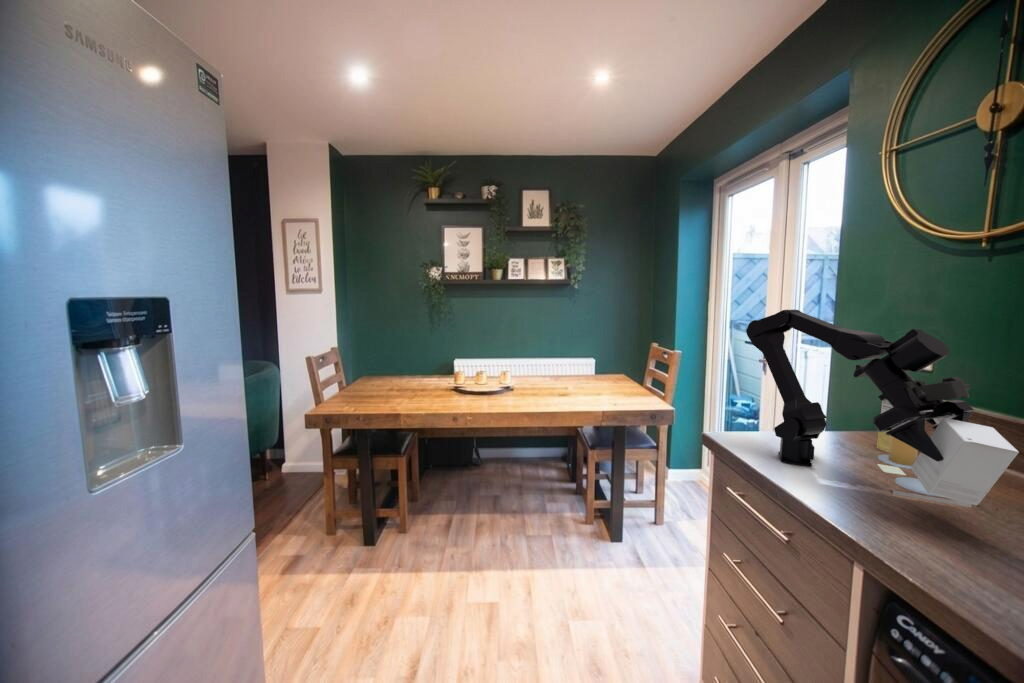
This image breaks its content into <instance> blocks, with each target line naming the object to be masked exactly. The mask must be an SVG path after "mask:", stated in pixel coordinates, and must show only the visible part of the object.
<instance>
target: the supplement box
mask: <svg viewBox="0 0 1024 683" xmlns="http://www.w3.org/2000/svg"><path fill="white" fill-rule="evenodd" d="M929 437H930V439H931V440H932V441H933V443H934V444H935V446H936V447H937V449H938V450H939V452H940V453H941V455H942V457H943V460H941V461H935V460H933V459H932V458H930V457H928V456H927V455H925V454H923V453H921V452H919V453H920V454H919V455H917V459H916V461H915V462H914V464H913V465H912V467H911V469H910V470H912V472H913V473H914V474H915V476H916V477H917V479H919V481H920V482H921V483H922V485H923V487H924V488H925V489H926V491H927V492H928V493H929V494H933V495H937V496H941V497H940V498H943V499H949V500H955V501H960V502H964V503H968V504H972V506H979V504H981V502H982V500H984V498H985V496H987V494H988V493H989V492H990V490H991V489H992V488H993V486H994V485H995V484H996V482H997V481H998V480H999V479H1000V478H1001V476H1002V475H1003V473H1004V472H1005V471H1006V469H1008V467H1009V466H1010V465H1011V463H1012V462H1013V461H1014V459H1015V458H1016V457H1017V456H1018V454H1019V453H1020V452H1019V451H1018V450H1017V448H1016V447H1014V446H1013V444H1011V443H1010V442H1009V441H1008V440H1007V439H1006V438H1005V437H1004V436H1003V435H1001V434H1000V433H999V432H998V430H996V428H994V427H992V426H987V425H983V424H978V423H973V422H969V421H968V422H963V421H958V420H953V419H948V418H942V420H941V422H940V423H939V425H938V426H937V428H936V429H934V431H933V433H932V434H931V436H929ZM937 496H936V497H937Z"/></svg>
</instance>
